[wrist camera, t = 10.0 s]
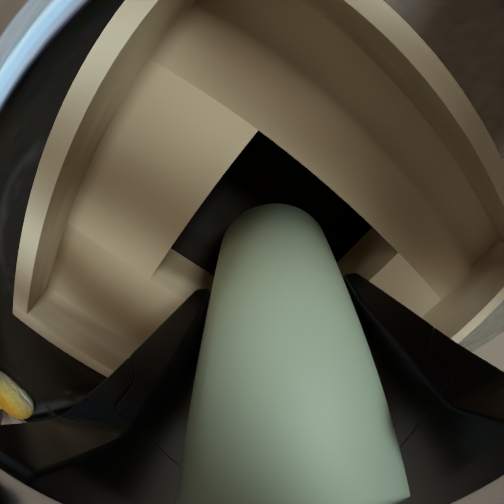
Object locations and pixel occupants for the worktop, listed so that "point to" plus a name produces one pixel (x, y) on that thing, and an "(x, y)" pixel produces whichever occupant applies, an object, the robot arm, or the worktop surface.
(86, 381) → the worktop surface
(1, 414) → the vase
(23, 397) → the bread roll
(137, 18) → the open-top box
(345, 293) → the peg
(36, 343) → the worktop surface
